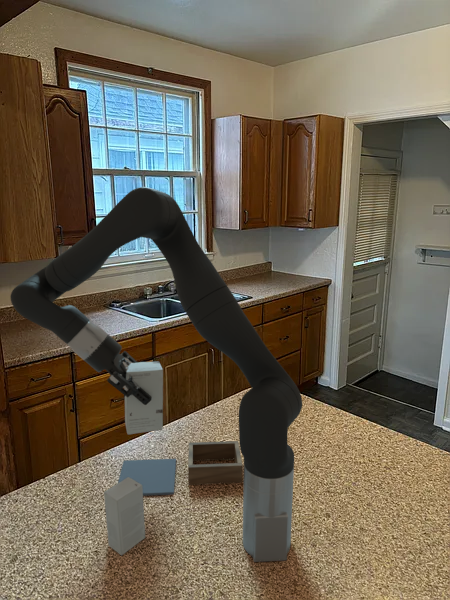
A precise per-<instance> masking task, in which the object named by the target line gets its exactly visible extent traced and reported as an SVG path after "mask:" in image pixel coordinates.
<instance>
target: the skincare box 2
mask: <svg viewBox="0 0 450 600" xmlns="http://www.w3.org/2000/svg"><path fill="white" fill-rule="evenodd" d="M137 362H138V361H137ZM128 367H129V368H128V370H127V371H126V380H128V379H129V378H130V376H132V377H133V380H134V381H135V382H136V383H137V384H138V385H139V387H141V388H142V389H143V390H144V391H146V392H147V393H148V394H149V395H150V396H151V397H152V399H151V401H150V402H149V403H148V404H147V405H144V404H143V403H142V402H140V401H139V400H138V399H137V398H136V397H135V396H133V395H132V396H131V395H130V396H129V397H126V396H125V395H124V424H125V429H126V433H127V434H126V435H133V434H140V433H141V434H142V433H147V432H149V433H150V432H158V431H159V432H160V431H163V429H164V428H163V427H164V425H163V424H164V423H163V422H164V421H163V420H164V414H163V413H164V412H163V411H164V410H163V409H164V405H163V403H164V368H163V367H162V365H161V363H160V361H140V362H138V363H131V364H128ZM130 383H131V382H130ZM131 384H132V383H131ZM132 385H133V384H132ZM127 387H128V386H127ZM128 388H129V387H128ZM124 389H125V388H124ZM125 390H126V389H125Z"/></svg>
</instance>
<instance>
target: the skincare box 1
mask: <svg viewBox="0 0 450 600" xmlns="http://www.w3.org/2000/svg"><path fill="white" fill-rule="evenodd" d="M103 497H104V498H103V499H104V508H105V522H106V532H107V543H108V546H109V547H110V548H111V549H112V550H113V551H114V552H116V553H118V554H119V555H120V556H124V554H125V553H127V552H128V551H130V550H131V549H132V548H133V547H135V546H136V545H137V544H139V543H140V542H141V541H143V540H144V539H146V524H145V511H144V510H145V509H144V508H145V506H144V496H143V489H142V485H141V484H140V483H138V482H136V481H135V480H133V479H131V478H129V477H127V478H126V479H124V480H123V481H121V482H119V483H118V482H117V483H116V484H114V485H113V486H111V487H110V488H108V489H107V490H104V491H103Z"/></svg>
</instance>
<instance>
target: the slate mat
mask: <svg viewBox="0 0 450 600" xmlns="http://www.w3.org/2000/svg"><path fill="white" fill-rule="evenodd" d="M176 469H177V458H162V459H161V458H156V459H152V458H151V459H130V460H129V459H125V460H123V463H122V466H121V471H120V474H119V478H118V482H117V484H118V483H119V482H121V481H123V480H124V479H126V478H127V477H129V478H131V479H133V480H135V481H136V482H138V483H140V484H141V485H142V489H143V497H145V496H147V497H148V496H166V495H168V496H169V495H175V483H176Z"/></svg>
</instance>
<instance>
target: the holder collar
mask: <svg viewBox="0 0 450 600" xmlns="http://www.w3.org/2000/svg"><path fill="white" fill-rule="evenodd" d="M187 457H188V461H187V463H188V465H187V466H188V468H187V471H188V473H187V474H188V475H187V476H188V485H193V486H194V485H215V484H217V485H218V484H237V483H238V484H241V483H243V470H244V464H243V460H242V453H241V450H240V441H239V440H227V441H224V440H223V441H198V442H197V441H195V442H193V441H192V442H188V456H187ZM219 460H220V461H222V460H234V462H233V463H232V462H229V463H208V464H207V463H205V464H204V463H203V464H194V462H195V461H219Z"/></svg>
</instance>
